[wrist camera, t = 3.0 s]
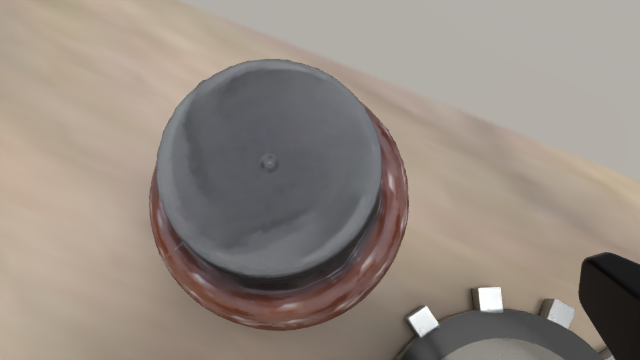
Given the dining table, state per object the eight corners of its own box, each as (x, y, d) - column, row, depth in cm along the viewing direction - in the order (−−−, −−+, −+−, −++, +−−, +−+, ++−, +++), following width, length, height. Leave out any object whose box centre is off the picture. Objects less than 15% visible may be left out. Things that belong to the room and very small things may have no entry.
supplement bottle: (403, 248, 20) (517, 184, 9) (284, 355, 19) (246, 432, 8) (302, 135, 21) (292, -50, 10) (184, 232, 20) (25, 146, 9)
